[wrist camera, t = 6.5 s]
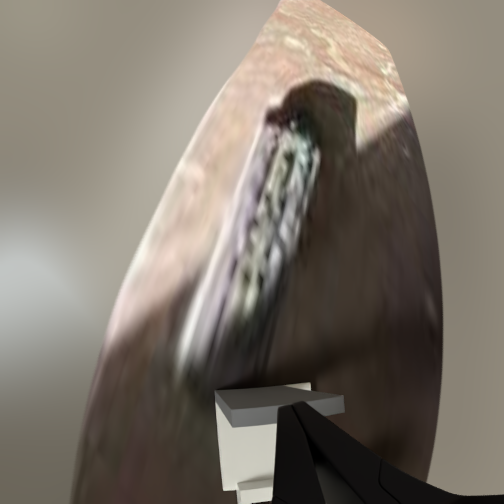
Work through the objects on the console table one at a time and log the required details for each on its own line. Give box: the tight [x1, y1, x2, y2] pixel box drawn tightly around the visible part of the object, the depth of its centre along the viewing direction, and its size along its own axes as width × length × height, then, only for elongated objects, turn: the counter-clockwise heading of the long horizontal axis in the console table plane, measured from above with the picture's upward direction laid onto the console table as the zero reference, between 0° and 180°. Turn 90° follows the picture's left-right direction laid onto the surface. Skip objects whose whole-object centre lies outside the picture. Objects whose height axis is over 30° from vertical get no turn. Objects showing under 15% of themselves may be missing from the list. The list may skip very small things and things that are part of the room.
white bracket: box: [215, 382, 345, 504], centre depth 15 cm, size 13×10×10 cm
